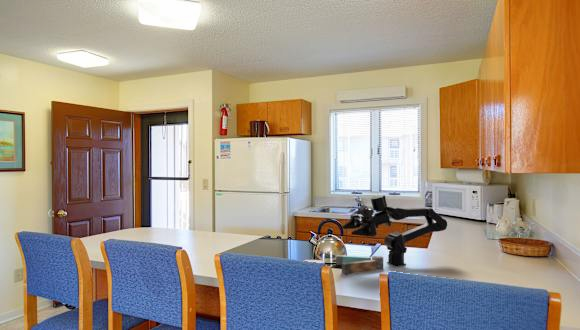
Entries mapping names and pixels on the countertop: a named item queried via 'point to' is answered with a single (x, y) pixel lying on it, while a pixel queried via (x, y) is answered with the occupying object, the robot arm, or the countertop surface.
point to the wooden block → (363, 265)
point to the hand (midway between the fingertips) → (346, 230)
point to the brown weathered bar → (350, 259)
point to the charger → (315, 261)
